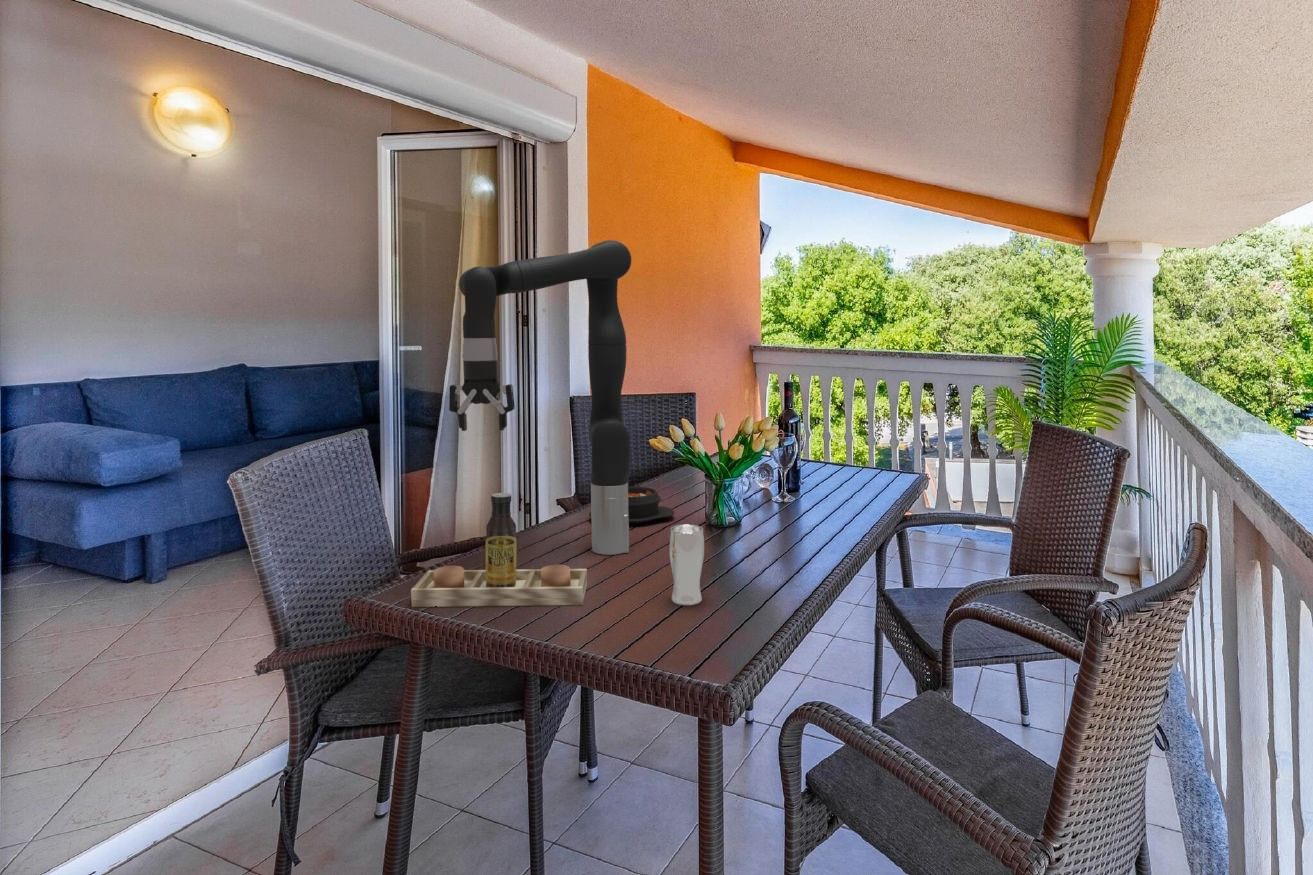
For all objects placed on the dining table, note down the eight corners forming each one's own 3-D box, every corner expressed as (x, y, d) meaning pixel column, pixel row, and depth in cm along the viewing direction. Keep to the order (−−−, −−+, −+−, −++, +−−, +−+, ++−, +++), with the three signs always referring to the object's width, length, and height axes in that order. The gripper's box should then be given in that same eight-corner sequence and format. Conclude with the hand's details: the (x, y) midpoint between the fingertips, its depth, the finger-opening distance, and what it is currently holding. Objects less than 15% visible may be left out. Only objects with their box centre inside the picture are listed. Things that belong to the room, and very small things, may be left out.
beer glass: (667, 594, 151) (667, 524, 149) (701, 593, 151) (701, 523, 149) (671, 607, 144) (671, 533, 142) (706, 605, 145) (706, 532, 142)
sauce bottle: (485, 594, 147) (481, 498, 144) (486, 584, 153) (482, 492, 150) (518, 592, 148) (515, 497, 146) (518, 581, 154) (514, 490, 152)
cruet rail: (587, 584, 157) (586, 559, 156) (582, 604, 145) (582, 578, 144) (429, 586, 156) (428, 561, 156) (411, 606, 145) (410, 580, 144)
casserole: (666, 509, 223) (666, 483, 222) (681, 525, 205) (681, 496, 204) (585, 514, 218) (585, 486, 217) (593, 530, 200) (592, 500, 199)
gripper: (515, 357, 166) (517, 428, 169) (452, 358, 166) (455, 428, 169) (509, 359, 159) (511, 432, 161) (443, 359, 159) (447, 432, 161)
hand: (483, 430), depth 165 cm, fingers open, 8 cm apart
